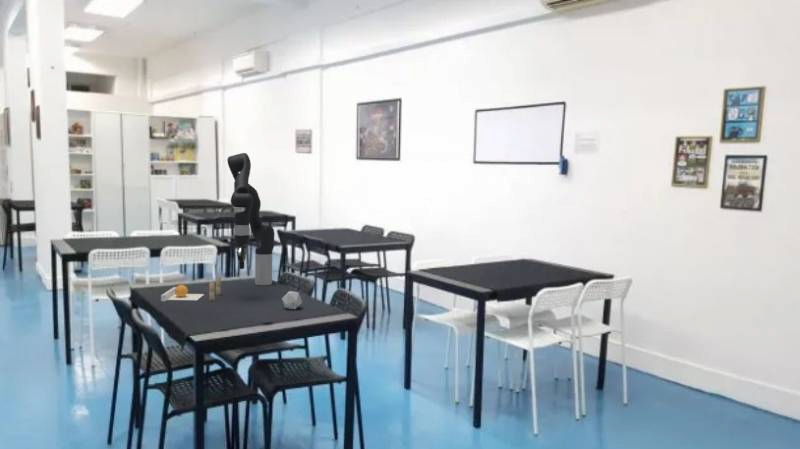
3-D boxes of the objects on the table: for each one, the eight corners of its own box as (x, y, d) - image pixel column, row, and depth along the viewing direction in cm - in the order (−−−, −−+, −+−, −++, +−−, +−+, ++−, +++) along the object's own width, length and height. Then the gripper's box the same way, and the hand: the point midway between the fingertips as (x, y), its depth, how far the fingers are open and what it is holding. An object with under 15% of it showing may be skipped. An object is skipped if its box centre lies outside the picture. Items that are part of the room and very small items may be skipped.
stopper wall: (173, 292, 306) (173, 287, 306) (177, 292, 307) (177, 287, 306) (161, 301, 287) (161, 295, 286) (165, 301, 287) (165, 295, 286)
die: (286, 312, 274) (299, 296, 274) (275, 301, 278) (288, 284, 278) (295, 315, 282) (308, 299, 281) (284, 304, 286) (297, 288, 286)
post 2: (216, 294, 306) (216, 276, 305) (221, 294, 306) (221, 276, 305) (215, 295, 304) (215, 277, 303) (220, 295, 304) (220, 277, 303)
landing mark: (176, 294, 304) (176, 293, 304) (204, 294, 305) (204, 294, 305) (167, 300, 290) (167, 299, 290) (196, 300, 291) (197, 300, 291)
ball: (180, 282, 300) (191, 287, 300) (174, 292, 300) (185, 298, 300) (176, 283, 294) (188, 289, 294) (171, 294, 294) (182, 300, 294)
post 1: (209, 299, 293) (210, 281, 292) (214, 300, 293) (215, 281, 292) (208, 301, 290) (208, 282, 289) (213, 301, 290) (213, 282, 290)
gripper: (236, 232, 302) (236, 266, 303) (231, 235, 288) (231, 270, 290) (252, 232, 302) (251, 266, 304) (247, 235, 289) (247, 271, 291)
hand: (241, 268), depth 297 cm, fingers closed
